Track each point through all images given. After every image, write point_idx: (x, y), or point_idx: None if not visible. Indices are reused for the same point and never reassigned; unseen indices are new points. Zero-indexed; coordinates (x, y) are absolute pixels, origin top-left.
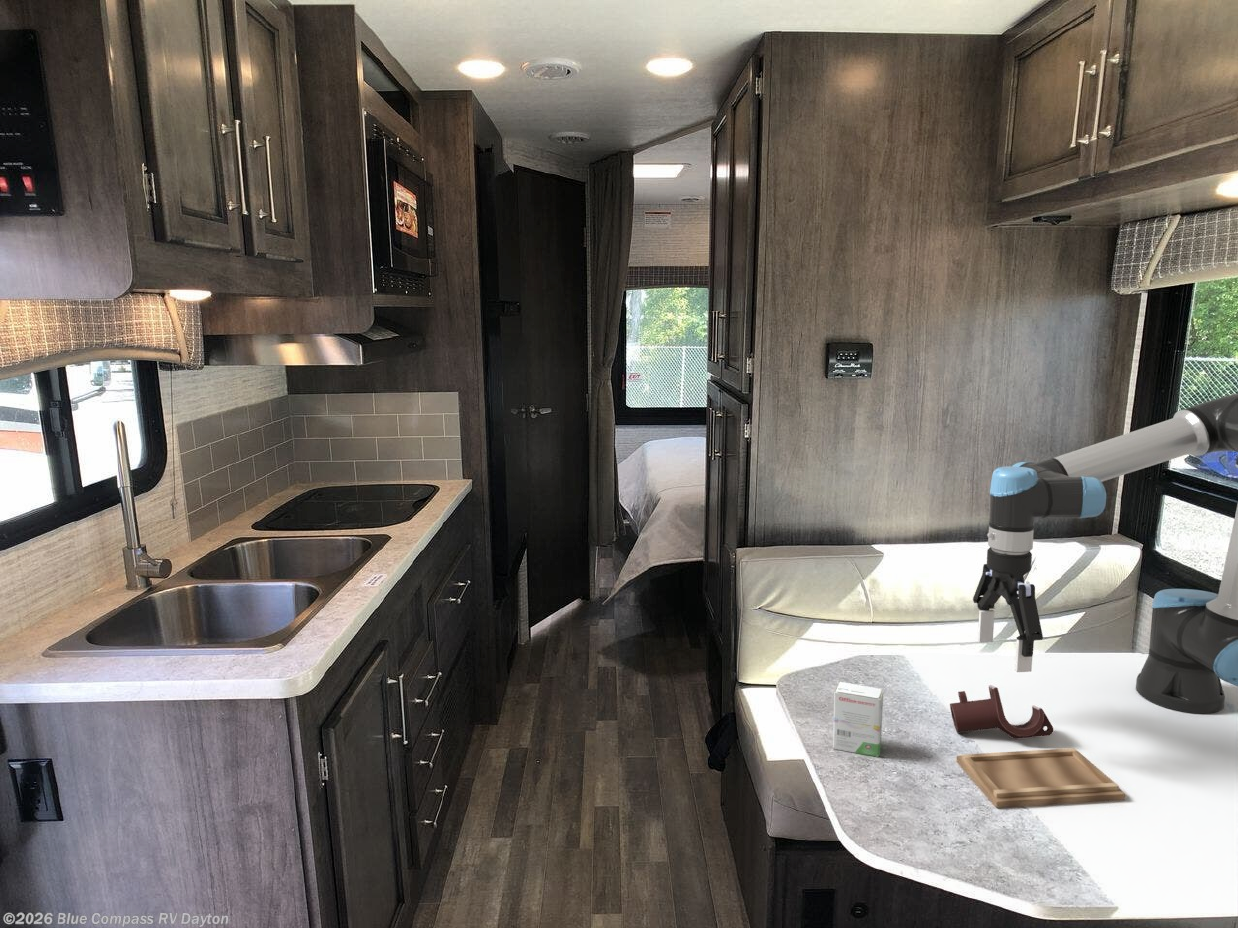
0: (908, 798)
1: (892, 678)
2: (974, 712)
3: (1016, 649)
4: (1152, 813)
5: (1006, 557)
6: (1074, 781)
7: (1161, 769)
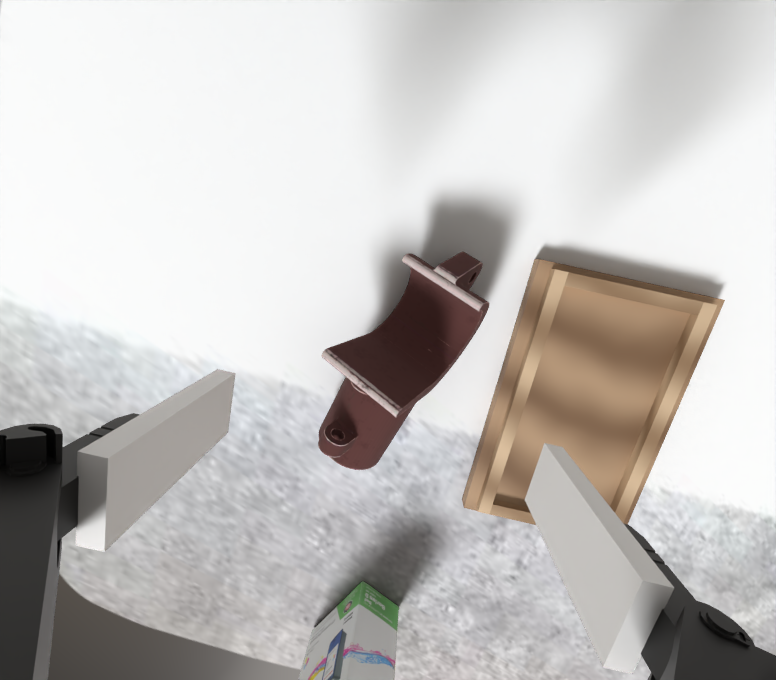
0: (525, 632)
1: (101, 399)
2: (389, 435)
3: (568, 586)
4: (770, 283)
5: None
6: (638, 363)
7: (673, 101)
